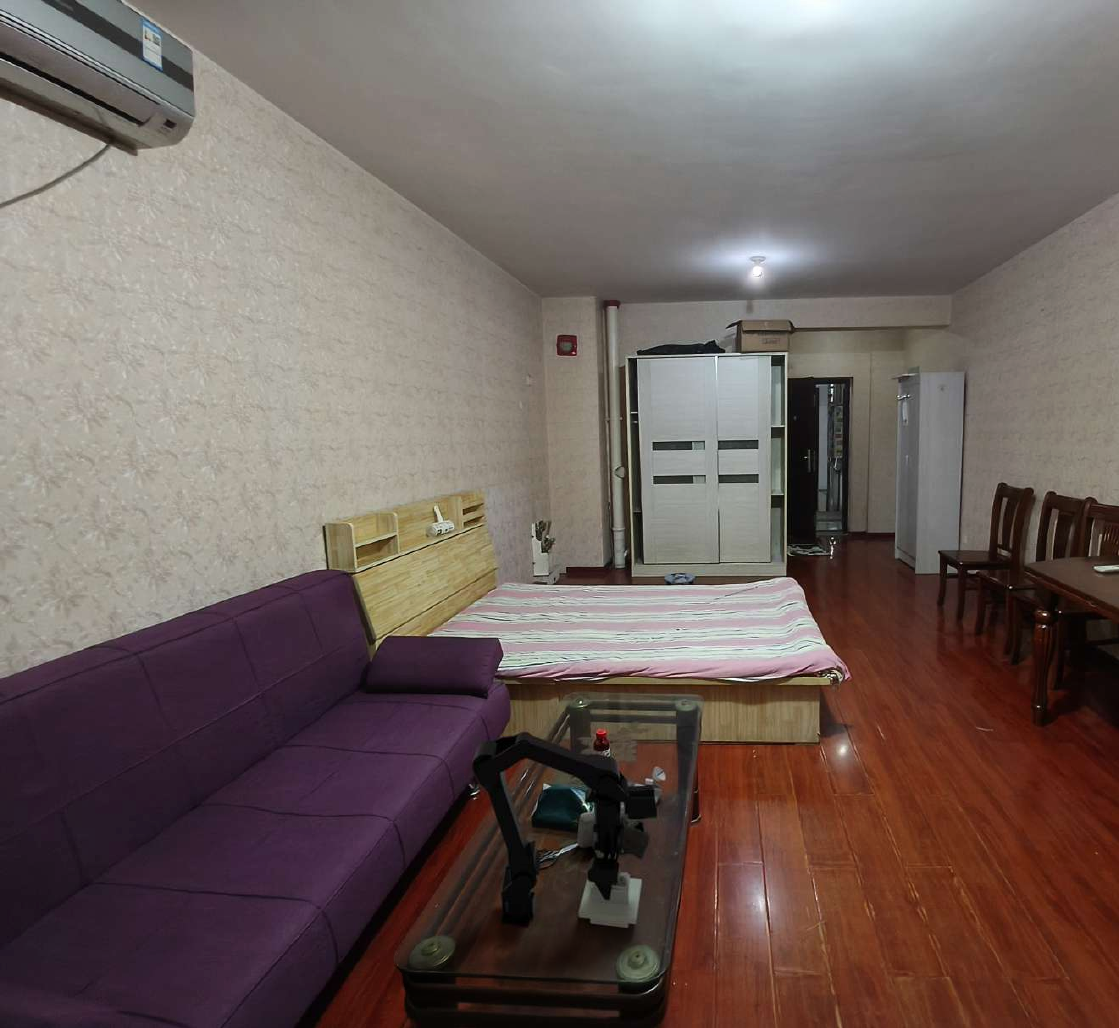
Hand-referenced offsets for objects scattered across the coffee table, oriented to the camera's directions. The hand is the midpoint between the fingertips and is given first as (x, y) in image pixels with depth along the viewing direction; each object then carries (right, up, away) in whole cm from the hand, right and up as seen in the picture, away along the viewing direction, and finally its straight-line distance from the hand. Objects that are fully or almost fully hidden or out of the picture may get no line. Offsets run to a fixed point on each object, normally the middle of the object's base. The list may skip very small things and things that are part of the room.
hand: (610, 884), depth 143 cm
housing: (0, -3, 0) cm, 2 cm away
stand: (0, -6, +1) cm, 6 cm away
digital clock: (+2, -3, +24) cm, 24 cm away
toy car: (+10, -1, +43) cm, 44 cm away
